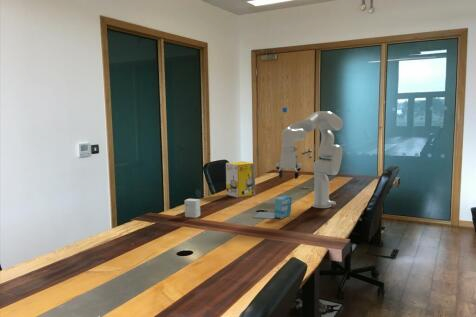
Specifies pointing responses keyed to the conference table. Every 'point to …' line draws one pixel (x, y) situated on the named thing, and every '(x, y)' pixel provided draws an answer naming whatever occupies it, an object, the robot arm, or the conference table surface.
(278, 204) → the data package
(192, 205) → the small box
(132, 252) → the conference table surface
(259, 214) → the felt pad
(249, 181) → the packaging box
